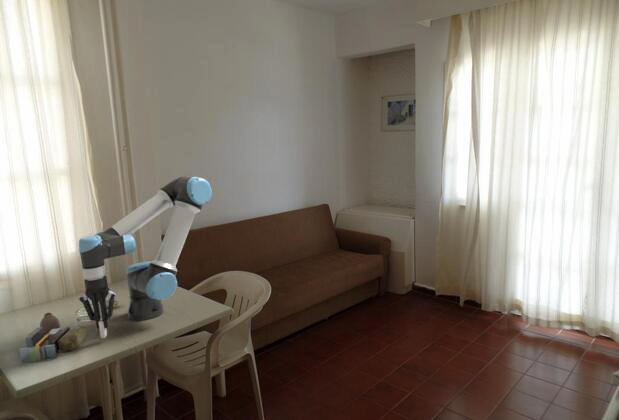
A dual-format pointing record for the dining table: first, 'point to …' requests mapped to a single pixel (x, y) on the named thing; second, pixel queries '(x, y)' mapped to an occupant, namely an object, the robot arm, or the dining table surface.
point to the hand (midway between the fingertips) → (104, 336)
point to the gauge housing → (31, 350)
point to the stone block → (72, 339)
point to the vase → (49, 323)
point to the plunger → (52, 338)
